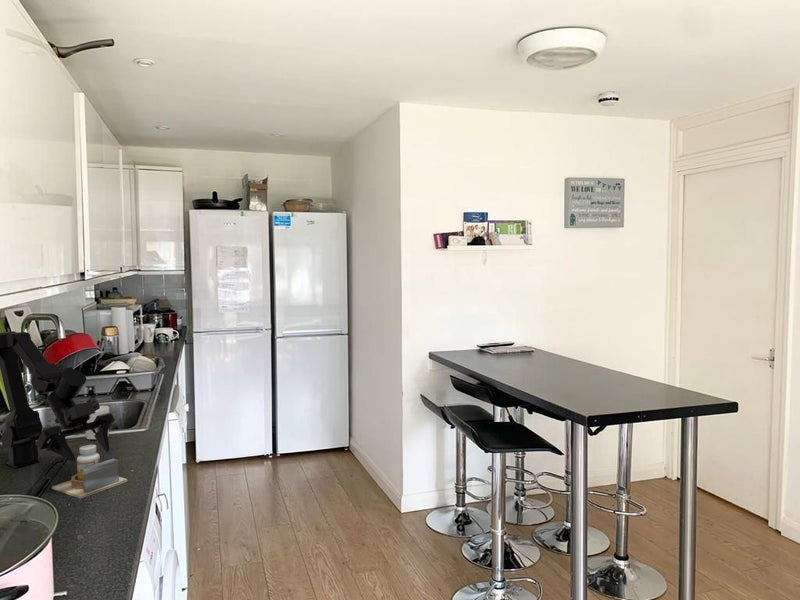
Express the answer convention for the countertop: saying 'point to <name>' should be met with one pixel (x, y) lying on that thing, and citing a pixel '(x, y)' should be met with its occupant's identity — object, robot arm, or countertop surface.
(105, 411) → the white cup
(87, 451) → the supplement bottle
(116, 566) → the countertop surface
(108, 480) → the seat dock
